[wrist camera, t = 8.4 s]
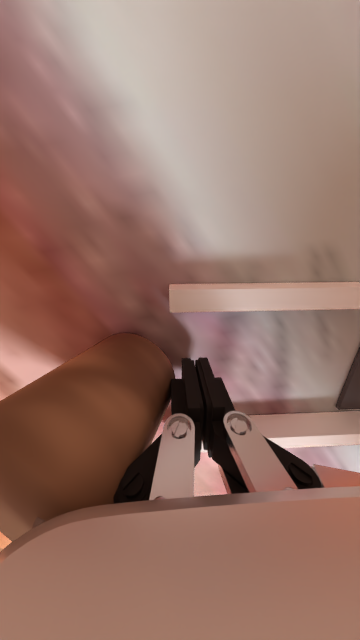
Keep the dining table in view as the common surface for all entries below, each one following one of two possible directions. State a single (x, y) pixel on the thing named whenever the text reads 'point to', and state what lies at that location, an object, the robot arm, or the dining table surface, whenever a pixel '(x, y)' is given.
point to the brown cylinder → (79, 430)
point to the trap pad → (351, 388)
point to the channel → (277, 298)
